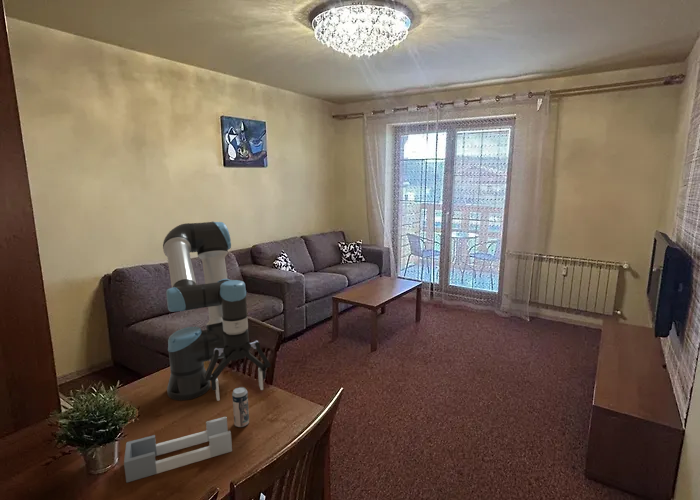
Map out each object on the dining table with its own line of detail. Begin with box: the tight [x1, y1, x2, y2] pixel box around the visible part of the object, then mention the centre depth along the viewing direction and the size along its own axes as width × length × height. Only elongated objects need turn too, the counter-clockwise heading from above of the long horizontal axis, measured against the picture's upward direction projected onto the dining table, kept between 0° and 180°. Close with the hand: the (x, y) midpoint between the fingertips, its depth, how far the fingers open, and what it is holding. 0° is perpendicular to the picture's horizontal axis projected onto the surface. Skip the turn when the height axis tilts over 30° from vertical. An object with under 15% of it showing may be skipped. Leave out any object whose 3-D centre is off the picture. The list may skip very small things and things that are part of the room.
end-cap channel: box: [123, 416, 233, 484], centre depth 112 cm, size 9×27×6 cm, turn 116°
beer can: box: [231, 386, 250, 428], centre depth 126 cm, size 5×5×12 cm
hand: (240, 393), depth 125 cm, fingers open, 13 cm apart
